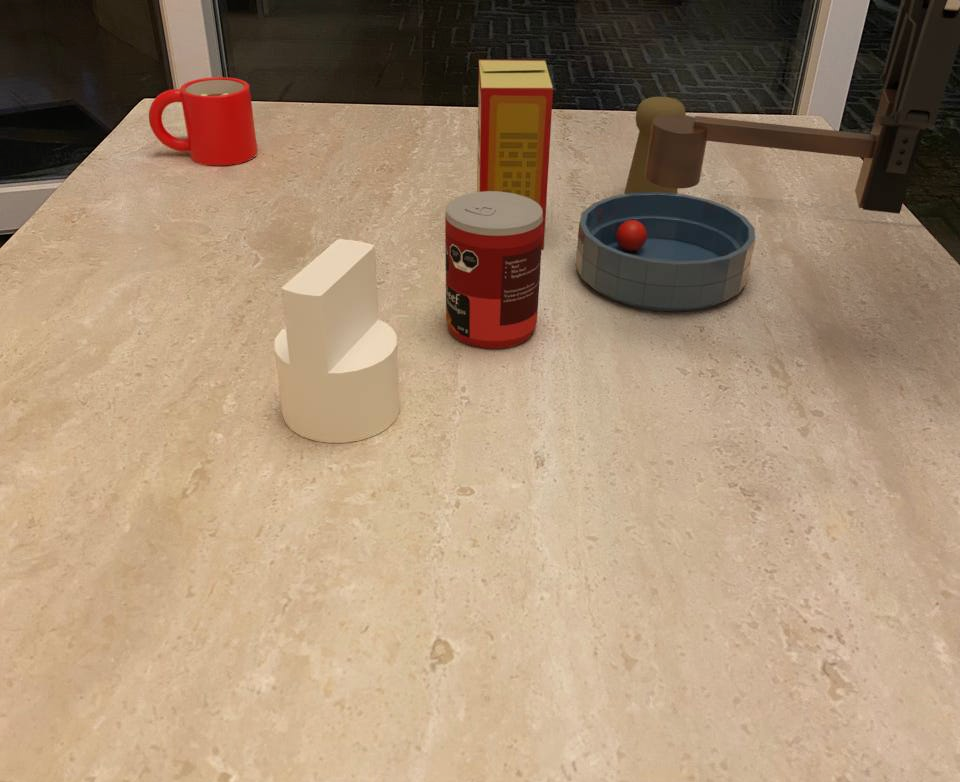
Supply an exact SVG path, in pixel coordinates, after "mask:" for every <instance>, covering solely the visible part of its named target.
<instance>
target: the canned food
mask: <svg viewBox="0 0 960 782" xmlns="http://www.w3.org/2000/svg"><path fill="white" fill-rule="evenodd" d="M444 215H445V216H444V217H445V220H444V221H445V225H444V226H445V227H444V232H445V233H444V239H445V240H444V242H445V243H444V244H445V245H444V246H445V249H444V251H445V253H444V254H445V256H444V257H445V258H444V259H445V320H446V321H445V322H446V324H447V327H448V329H449V332H450V333H451V335H452V336H453V337H454V338H455V339H456V340H458V341H460V342H462V343H464V344H465V345H466V344H467V345H470V346H473V347H477V348H483V349H505V348H511V347H515V346H517V345H520V344H522V343H524V342H526V341H527V340H529V339H530V338H531V337H532V336H533V334H534V331H535V329H536V326H537V325H538V324H537V323H538V310H539V297H540V280H541V279H540V277H541V265H542V264H541V263H542V251H543V249H542V233H543V211H542V208H541V206H540V205H539V204H538V203H537V202H535V201H533V200H532V199H530V198H527V197H524V196H521V195H518V194H513V193H508V192H498V191H485V192H477V191H476V192H470V193H465V194H462V195H459V196H456V197H454V198H453V199H452V200H450V201H449V202H448V203H447V205H446V206H445V214H444Z"/></svg>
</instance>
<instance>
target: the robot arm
mask: <svg viewBox="0 0 960 782" xmlns="http://www.w3.org/2000/svg"><path fill="white" fill-rule="evenodd" d="M959 48H960V0H900V5H899V7H898V12H897V16H896V20H895V24H894V28H893V32H892V35H891V40H890V43H889V47H888V51H887V55H886V58H885V63H884V67H883V71H882V73H881V74H880V78H879V79H880V81H879V82H880V85H881V86H883V87H882V88H881V90H880V96H881V95H882V92H883V89H892V90H897V94H896V98H895V102H894V106H893V110H892V114H890V116H881V115H880V120H879V125H883V126H884V129H883V132H882V136H881V140H880V143H879V147H878V151H877V154H876V158H875V162H874V165H873V169H872V173H871V176H870V180H869V184H868V187H867V191H866V195H865V198H864V202H863V205H862V207H863V208H862V210H863V211H872V212H880V213H891V214H899V215H900V214H901V211H902V208H903V204H904V201H905V197H906V194H907V191H908V188H909V184H910V181H911V177H912V174H913V171H914V168H915V165H916V162H917V158H918V154H919V151H920V147H921V144H922V141H923V138H924V134H925V132H926V130H927V129H933V128H934V127H935V125H936V123H937V120H938V114H939V111H940V108H941V105H942V101H943V99H944V96H945V92H946V89H947V86H948V83H949V80H950V76H951V74H952V71H953V67H954V63H955V60H956V58H957V54H958V51H959Z"/></svg>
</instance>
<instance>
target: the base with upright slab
mask: <svg viewBox="0 0 960 782" xmlns="http://www.w3.org/2000/svg"><path fill="white" fill-rule="evenodd" d="M377 279H378V278H377V261H376V245H374V244H372V243H368V242H364V241H360V240H353V239H344V238H338V239H336V240H335V241H333V243H332V244H330V245H329V246H328V247H327V248H326V249H325V250H324V251H322V252H321V253H320V254H319V255H317V256H316V257H315V258H314V259H313V260H312V261H311V262H310V263H308V264H307V265H306V266H305V267H303V269H301V270H300V271H299V272H298V273H297V274H295V276H293V277H292V278H290V280H288V282H287V283H285V284H284V285H283V286H282V287H281V288H280V289H281V298H282V299H281V300H282V308H283V316H284V324H285V325H284V326H285V327H284V328H282V329H281V330H280V332H279V333H278V334H277V336H275V340H274V344H273V350H274V356H275V366H276V373H277V374H276V375H277V380H278V389H279V397H280V398H279V399H280V405H281V413H282V417H283V421H284V423H285V424H286V426H287V427H288V429H290V430H291V431H292V432H294V433H295V434H297V435H299V436H300V437H302V438H305V439H308V440H311V441H315V442H319V443H320V442H321V443H328V444H347V443H353V442H358V441H363V440H367V439H370V438H372V437H375V436H377V435H378V434H380V433H382V432H384V431H386V430H387V429H388V428H389V427H391V426H392V425H394V423H395V422H396V420H397V418H398V416H399V414H400V404H401V403H400V386H399V385H400V383H399V381H400V380H399V355H398V354H399V353H398V336H397V334H396V332H395V330H394V329H393V328H392V326H390V325H389V324H388V323H387V322H385V321H383V320H381V319H380V318H379V299H378V296H379V295H378V280H377Z"/></svg>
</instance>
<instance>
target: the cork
mask: <svg viewBox="0 0 960 782" xmlns="http://www.w3.org/2000/svg"><path fill="white" fill-rule="evenodd" d="M636 108H637V109H636V112H635V124H636V127H637V129H638V135H637V138H636V144H635V148H634V152H633V156H632V159H631V163H630V168H629V172H628V177H627V180H626V184H625V189H624V193H623V194H629V193H644V192H663V193H674V194H678V189H677V188H667V187H662V186H658V185H655V184H653V183H651V182H649V181H648V180H647V179H646V177H645V171H646V164H647V157H648V150H649V143H650V136H651V129H652V122H653V120H654V119H655V118H656V117H659V116H663V115H685V116H687V113H686V108H685V106H684V104H683V103H682V102H681V101H680V100H678V99H676V98H672V97H667V96H651V97H650V96H649V97H648V98H645V99H643V100H642V101H641V102H640V104H639V105H637V107H636Z"/></svg>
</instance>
